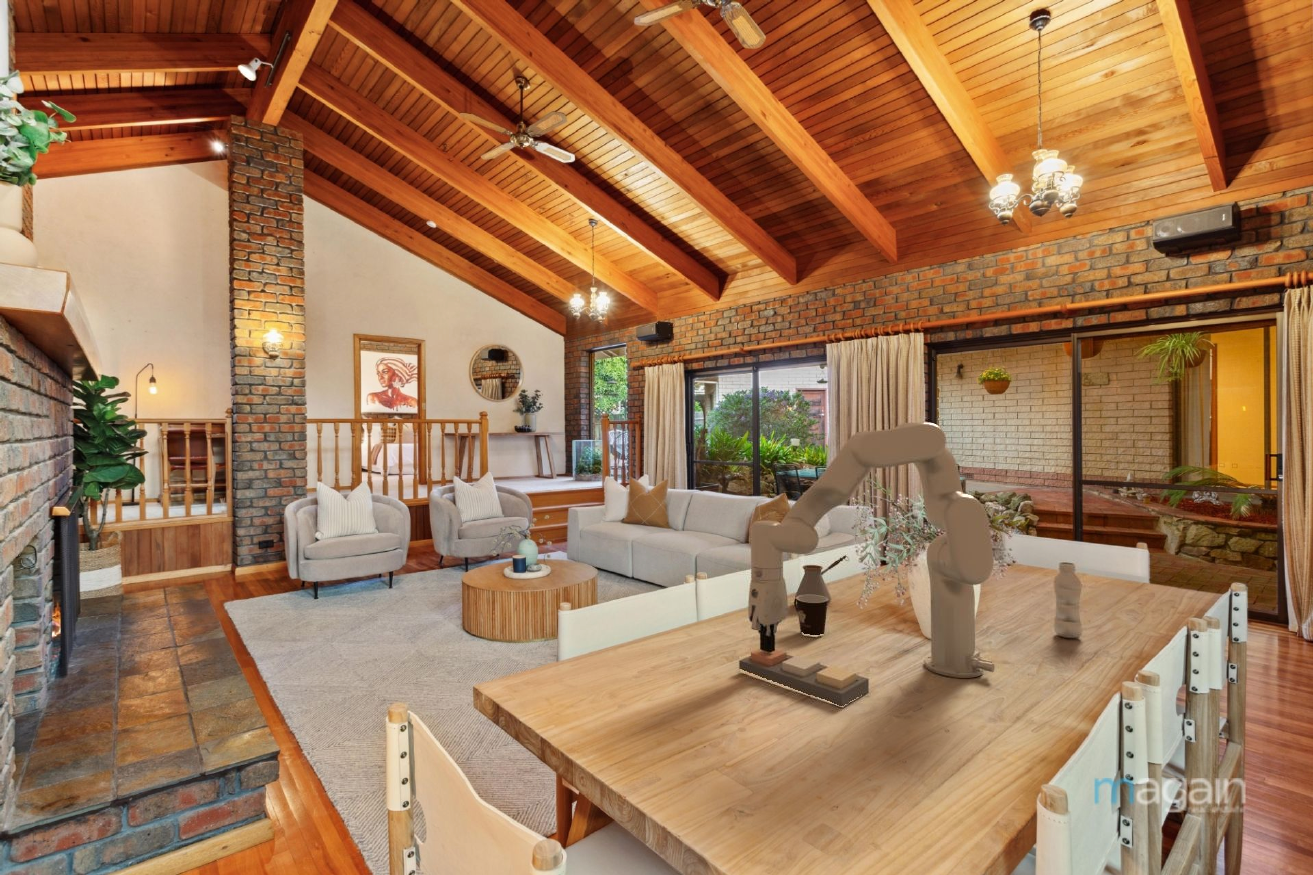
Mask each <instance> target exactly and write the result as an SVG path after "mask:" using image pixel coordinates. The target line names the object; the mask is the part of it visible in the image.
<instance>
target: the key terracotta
mask: <svg viewBox="0 0 1313 875" xmlns="http://www.w3.org/2000/svg"><path fill="white" fill-rule="evenodd" d="M787 655H788V654H787V652H786V651H783V650H779V649H776V648H775V651H773V652H771V653H769V652H766V651H763V650H761V649H760V648H759V649H756V650H754V651H750V656H751V660H752V661H755V662H758V663H762V664H765V665H768V666H771V667H772V666H775V665H777V664H779V663H781V662H784V661H786V660H787Z"/></svg>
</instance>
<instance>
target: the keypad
mask: <svg viewBox="0 0 1313 875" xmlns="http://www.w3.org/2000/svg"><path fill="white" fill-rule="evenodd" d="M793 657H794V656H793V655H790V654H787V660H788V659H791V658H793ZM738 666H739V667H738V669H742V670H744V671H747V672H749V673H753V674H755V675H758V676H760V677H762V678H766V679H767V680H772V681H773V682H777V683H779V684H783V685H784V686H788V687H790V688H793V689H795V690H798V691H801V692H803V693H806V694H808V695H813V696H815V697H819V698H821V699H825V700H827V701H830V702H832V703H834V704H837V705H839V706H844V705H845V704H848V703H849V702H850V701H852V700H854V699H856V698H857V697H860V696H861V695H864V694H865V693H867V692H869V691H870V690H869V686H870V684H869V678H867V677H865V676H864V677H863V676H860V675H858V674H856V682H855V683H853V684H851V685H849V686H848V687H846V688H844V689H840V688H837V687H834V686H831V685H827V684H824V683H821V682H818V681H817V673H818V672H820V671H822V670H824V669H826V668H828V667H829V666H827V665H823V664H820V671H818V672H816V673H814V674H812V675H810V676H808V677H802V676H799V675H796V674H793V673H790V672H787V671H784V670H782V662H781V663H779V664H777V665H775V666H772V667H771V666H768V665H765V664H762V663H758V662H755V661H752V660H751V655H749V656H746V657H744V658H742V659H739V661H738ZM867 694H868V693H867ZM865 695H866V694H865ZM865 695H864V696H865ZM860 698H861V697H860Z"/></svg>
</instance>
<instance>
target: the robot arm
mask: <svg viewBox="0 0 1313 875" xmlns="http://www.w3.org/2000/svg"><path fill="white" fill-rule="evenodd" d="M954 456H955V455H954V454H953V453H952V451H951V450H950V449H949V447H947V437H946V434H945V432H944V430H943V429H942V428H941V427H940V426H939V425H937V424H935V423H932V422H927V421H925V422H923V421H921V422H913V421H911V422H905V423H900V424H899V425H897V426H896V427H894V428H889V429H881V430H863V431H862V430H861V431H857V432H856V433H854V434H852V435H851V437H850V438H849V439H848V440H847V441H846V442H845V444H844V446H842V448H840V451H839V452H838V453H837V455H836V456H835V457H834V458H833V460H832V461H831V462H830V464H829V465H828V466H827V467H826V469H825V470H824V471H823V473H822V474H821V475H820V477H819V478H818V479H817V480H816V481H815V482H813V484H812V485H811V486H810V487H809V488H808V489H807V490H805V491H804V493H803V494H802V495H801V496H800V497H799V498H798V499H797V500H796V501H795V503H794V504H793V505H792V507H791V508H790V509H789V510H788V512H787V513H786V515H785V516H783V518H782V520H781V522H778V521H776V520H757V521H754V522H753V523H752V524H751V526H750V574H751V575H750V576H751V577H750V579H751V580H750V584H749V590H748V605H747V606H748V609H747V610H748V611H747V613H748V620H749V621H750V623H751V627H750V628H751V629H752V630H753V631H757V633H758V634H759V649H761V650H763V651H766V652H769V653H771V652H773V651H775V649H776V634H777V631H778V630H777V629H778V625H779V624H780V623H781V622H783V621H784V620H786V619H787V618H788V616H789V606H788V605H789V603H788V591H787V584H786V579H785V577H784V553H787V554H796V555H807V554H810V553H812V552H813V551H815V550H816V548H817V547H818V545H819V540H820V539H819V534H818V531H817V529H815V527H816V525H817V524H818V523H819V522H820V520H821V519H822V518H823V517H824V516H825V515H826V514H828V513H829V512H830V511H832V510H833V509H835V508H837V507H839V506H842V505H843V504H846V503H847V502H848V501H850V500H851V498H852V497H853V496H854V494H856V492H857V491H858V489H859V488H860V486H862V484H863V482H864V481H865V480H866V478H867V477H868V476H869V475H870V473H871V472H872V471H873V469H884V468H885V469H886V468H892V467H898V466H904V465H911V464H914V466H915V468H916V469H917V471H918V474H919V479H920V482H921V489H922V497H923V504H924V512H925V516H926V521H928V523H929V524H930V525H931V526H932V527H934V528H935V529H937V530H940V531H943V532H944V533H945V534H941V535H938V536H936V537H934V538H933V539H932V540H931V541H930V543H929V544H928V547H927V550H926V564H927V570H928V571H927V572H928V576H929V586H930V588H929V589H930V654H931V655H929V656H927V657H925V658H924V659H923V660H924V661H923V662H924V663H923V664H924V666H925V667H926V669H928V670H929V671H930V672H933V673H935V674H938V675H942V676H946V677H951V678H957V679H972V678H977V677H979V676H982V675H983V673H984V671H986V672H990V673H994V671H995V663H993V660H990V659H984V658H982V657H981V656H980V655H981V654H980V653H981V652H980V651H979V650H976V614H975V613H976V610H975V608H976V607H975V606H976V599H975V598H976V597H975V595H976V594H975V588H974V586H976V585H981V584H983V583H985V582H986V581H988V579H989V578H990V577H991V574H992V573H993V570H994V552H993V544H992V536H991V530H990V523H989V517H988V514H987V511H986V509H985V507H984V506H983V504H982V503H981V502H980V501H979V500H978V498H976V497H975V496H972V495H970V494H968V493H964V491H963V488H962V487H963V486H962V482H961V477H960V472H959V469H958V468H959V466H958V463H957V461H956V458H955V457H954Z"/></svg>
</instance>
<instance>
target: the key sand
mask: <svg viewBox="0 0 1313 875" xmlns="http://www.w3.org/2000/svg"><path fill="white" fill-rule="evenodd" d="M827 667H828V668H826V669H824V670H822V671H820V672H818V673H817V681H818V682H821V683H824V684H827V685H831V686H834V687H837V688H840V689H844V688H846V687H848V686H849V685H851V684H853V683H855V682H856V675H857V672H855V671H852V670H850V669H849V670H848V669H845V668H841V667H838V666H834V665H830V666H827Z"/></svg>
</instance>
